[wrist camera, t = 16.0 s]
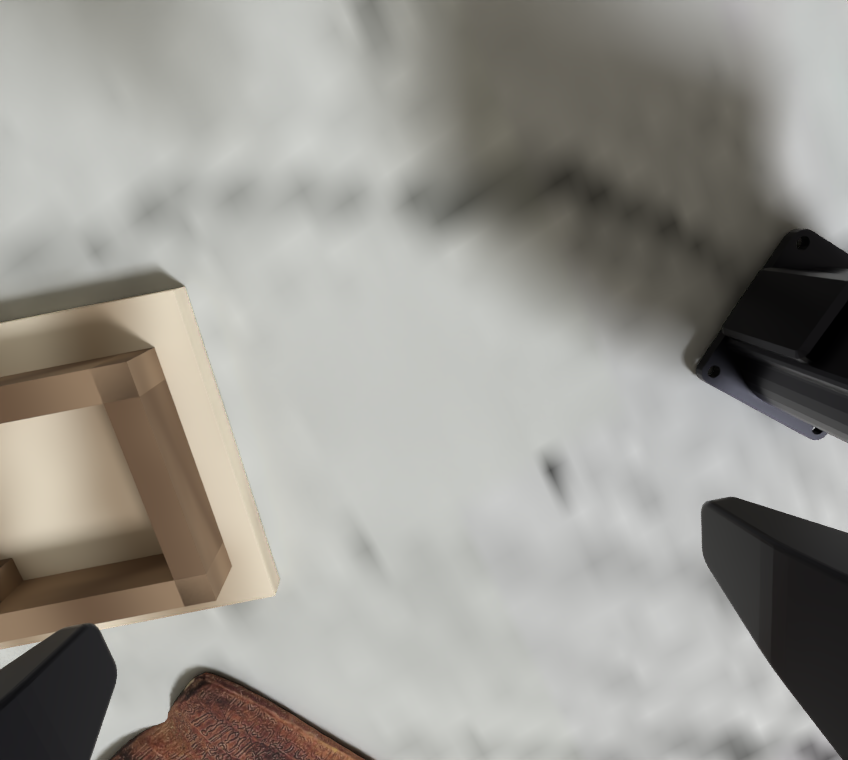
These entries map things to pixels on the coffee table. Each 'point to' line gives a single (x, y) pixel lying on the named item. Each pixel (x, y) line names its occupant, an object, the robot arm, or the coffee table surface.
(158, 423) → the keyhole board
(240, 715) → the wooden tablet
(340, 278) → the coffee table surface
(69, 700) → the robot arm
